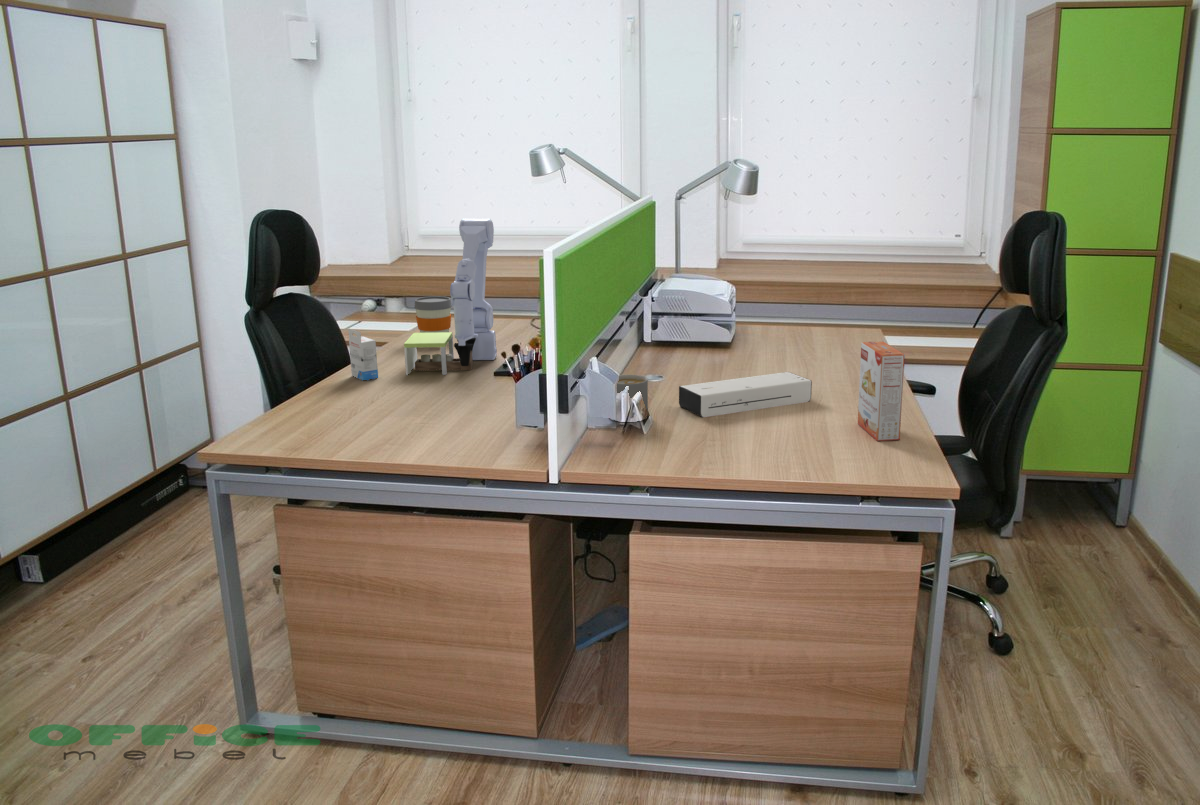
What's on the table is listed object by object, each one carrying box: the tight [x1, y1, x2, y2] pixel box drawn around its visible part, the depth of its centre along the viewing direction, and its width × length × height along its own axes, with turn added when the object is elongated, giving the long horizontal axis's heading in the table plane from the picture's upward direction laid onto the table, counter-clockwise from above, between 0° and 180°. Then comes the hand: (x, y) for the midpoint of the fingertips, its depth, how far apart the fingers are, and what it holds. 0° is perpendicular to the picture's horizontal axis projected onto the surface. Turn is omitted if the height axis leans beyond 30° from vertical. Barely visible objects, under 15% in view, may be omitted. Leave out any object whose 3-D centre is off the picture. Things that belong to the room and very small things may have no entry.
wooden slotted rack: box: [414, 351, 474, 372], centre depth 312 cm, size 17×5×5 cm, turn 90°
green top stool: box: [403, 331, 455, 376], centre depth 311 cm, size 12×16×10 cm
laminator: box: [678, 371, 813, 418], centre depth 268 cm, size 34×12×6 cm, turn 114°
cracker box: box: [857, 341, 906, 442], centre depth 240 cm, size 14×6×21 cm, turn 5°
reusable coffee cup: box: [414, 295, 453, 333], centre depth 348 cm, size 13×13×15 cm
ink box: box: [348, 328, 379, 381], centre depth 301 cm, size 8×5×15 cm, turn 39°
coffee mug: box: [617, 374, 649, 412], centre depth 256 cm, size 13×10×10 cm
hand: (466, 363), depth 312 cm, fingers closed on wooden slotted rack, 5 cm apart
